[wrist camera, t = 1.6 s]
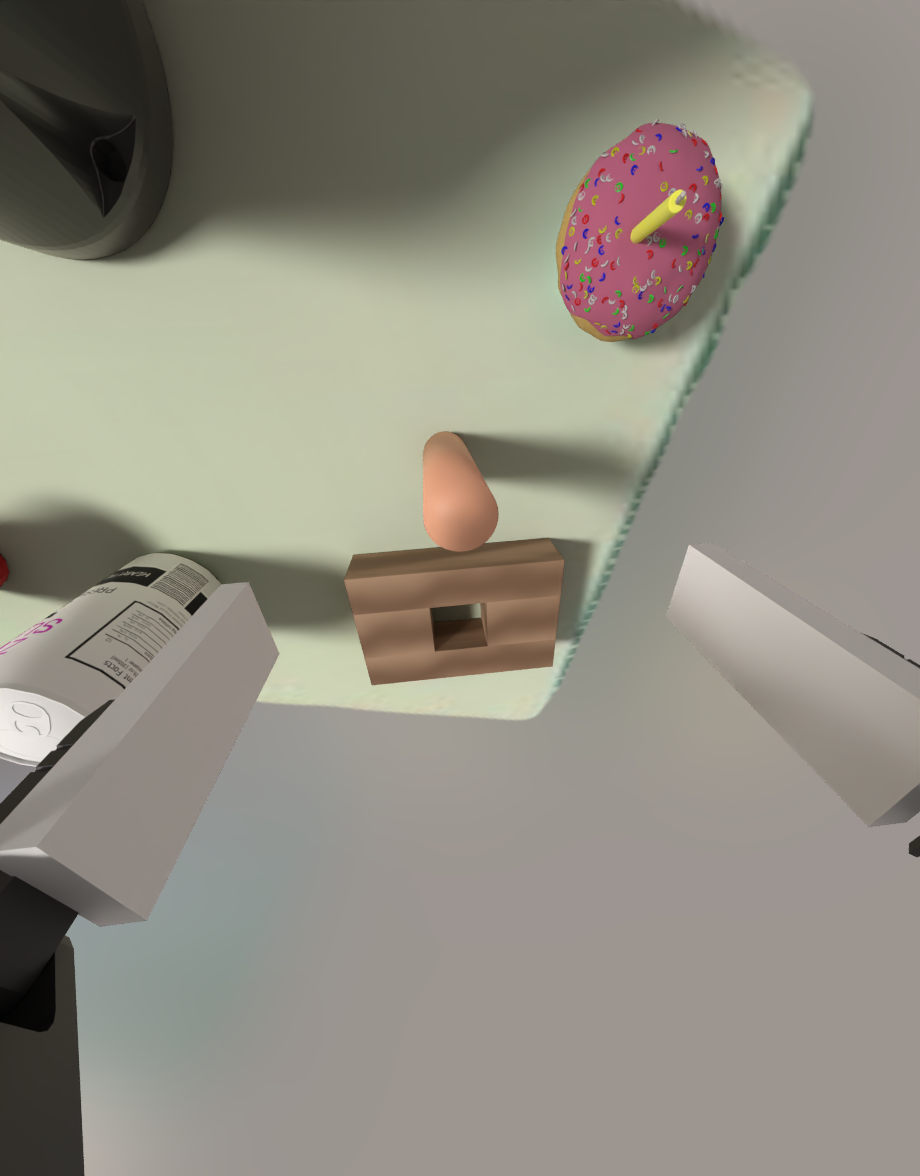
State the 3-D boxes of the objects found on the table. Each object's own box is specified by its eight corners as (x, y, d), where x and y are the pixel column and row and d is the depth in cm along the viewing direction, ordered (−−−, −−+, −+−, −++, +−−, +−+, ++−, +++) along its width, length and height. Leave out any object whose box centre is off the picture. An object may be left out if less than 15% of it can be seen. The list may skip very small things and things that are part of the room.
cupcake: (537, 354, 25) (613, 344, 15) (533, 182, 21) (639, 5, 11) (655, 334, 25) (811, 311, 15) (678, 158, 21) (920, -42, 11)
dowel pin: (421, 433, 27) (419, 482, 16) (466, 430, 28) (498, 476, 16) (425, 479, 29) (427, 554, 17) (468, 475, 29) (498, 548, 18)
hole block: (353, 554, 32) (343, 580, 28) (548, 537, 33) (564, 559, 29) (376, 653, 39) (371, 685, 35) (539, 637, 39) (552, 666, 36)
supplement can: (224, 635, 36) (113, 783, 23) (127, 608, 33) (-57, 758, 20) (238, 570, 32) (116, 702, 19) (131, 535, 30) (-90, 660, 17)
